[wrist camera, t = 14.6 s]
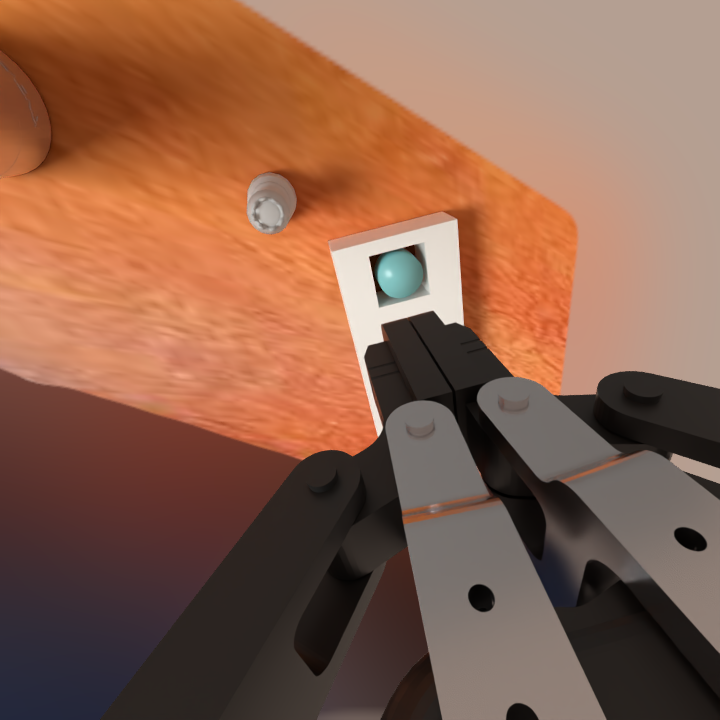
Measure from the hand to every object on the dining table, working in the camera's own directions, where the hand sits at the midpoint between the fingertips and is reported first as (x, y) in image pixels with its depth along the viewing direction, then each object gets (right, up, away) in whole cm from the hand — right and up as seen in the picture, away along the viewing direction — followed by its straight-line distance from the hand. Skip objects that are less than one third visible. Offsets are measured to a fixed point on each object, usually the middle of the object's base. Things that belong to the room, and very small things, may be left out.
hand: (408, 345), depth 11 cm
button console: (+4, +3, +34) cm, 34 cm away
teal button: (+2, +9, +27) cm, 29 cm away
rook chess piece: (-10, +15, +24) cm, 30 cm away
